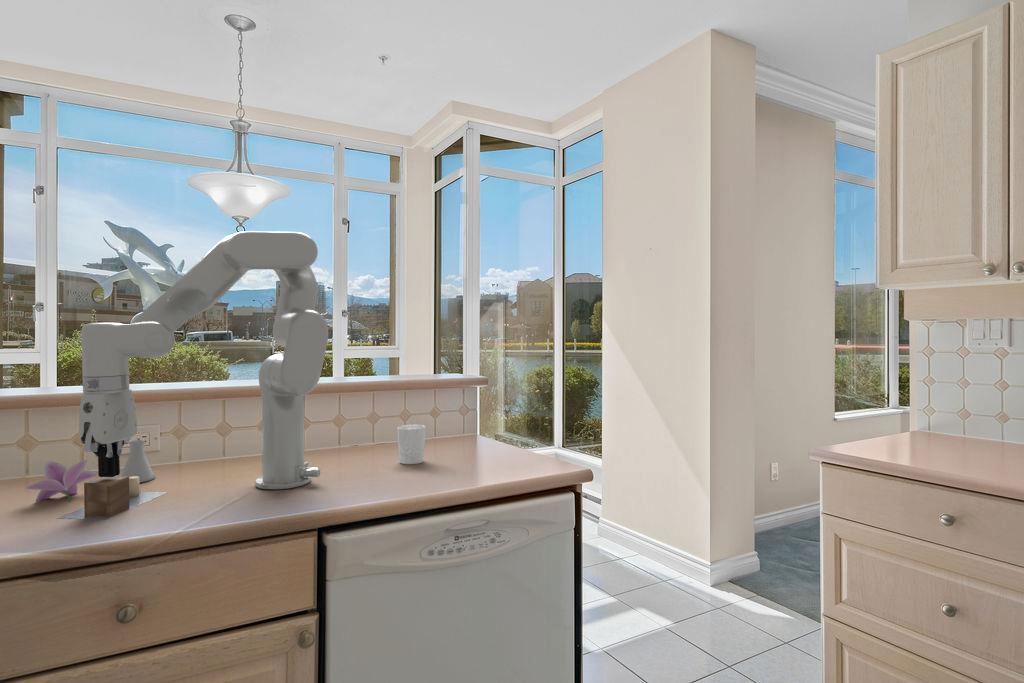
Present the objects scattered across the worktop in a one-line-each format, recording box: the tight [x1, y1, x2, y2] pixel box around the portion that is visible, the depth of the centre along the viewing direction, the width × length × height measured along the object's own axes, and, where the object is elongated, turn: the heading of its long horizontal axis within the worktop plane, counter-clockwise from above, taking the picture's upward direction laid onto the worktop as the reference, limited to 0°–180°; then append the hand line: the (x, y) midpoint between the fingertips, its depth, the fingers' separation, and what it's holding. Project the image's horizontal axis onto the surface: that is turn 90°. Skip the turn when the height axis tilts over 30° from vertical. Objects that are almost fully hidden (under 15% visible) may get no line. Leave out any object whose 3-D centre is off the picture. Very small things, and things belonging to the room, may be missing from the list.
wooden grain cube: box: [83, 475, 129, 518], centre depth 112 cm, size 5×5×7 cm
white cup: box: [397, 424, 426, 465], centre depth 160 cm, size 8×8×10 cm
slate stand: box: [56, 476, 169, 521], centre depth 118 cm, size 10×18×5 cm, turn 177°
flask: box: [120, 438, 156, 484], centre depth 139 cm, size 7×7×10 cm
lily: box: [25, 459, 99, 503], centre depth 121 cm, size 12×12×10 cm
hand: (109, 475), depth 113 cm, fingers closed
